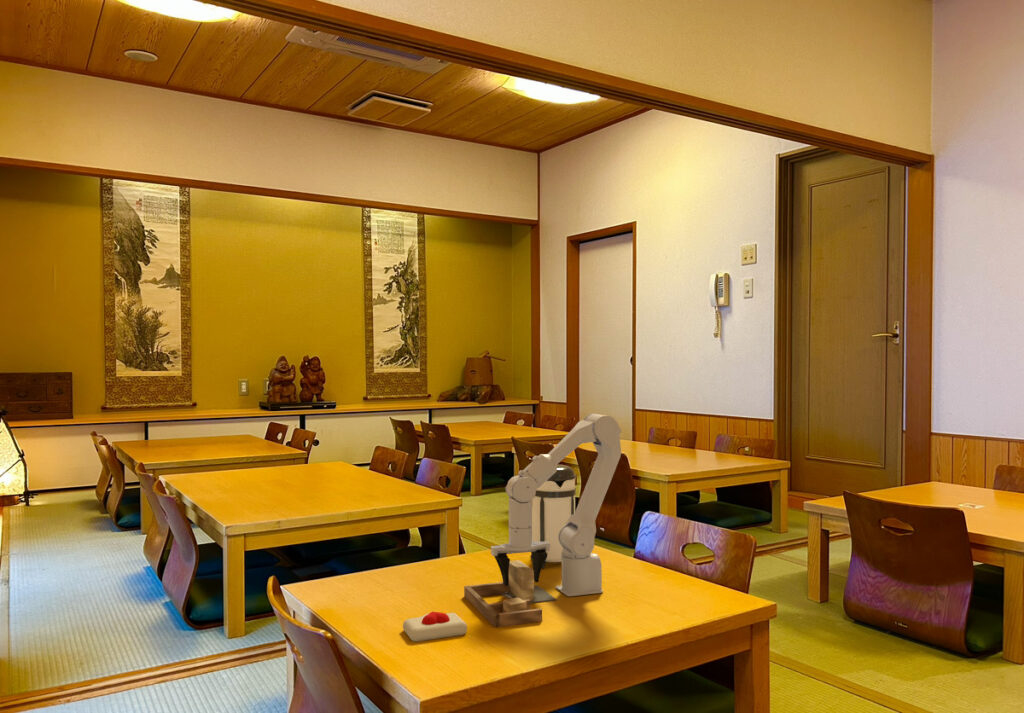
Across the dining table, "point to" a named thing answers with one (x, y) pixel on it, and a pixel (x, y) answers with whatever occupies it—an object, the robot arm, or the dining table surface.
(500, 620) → the rack
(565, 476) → the coffee press
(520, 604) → the offcut upper
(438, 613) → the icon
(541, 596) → the mat
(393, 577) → the dining table surface
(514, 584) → the tan wooden block
